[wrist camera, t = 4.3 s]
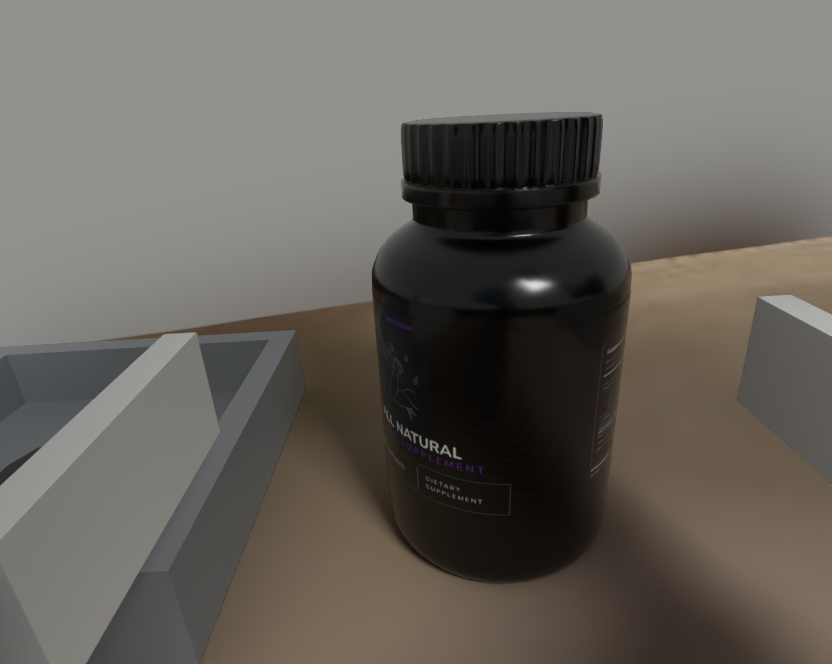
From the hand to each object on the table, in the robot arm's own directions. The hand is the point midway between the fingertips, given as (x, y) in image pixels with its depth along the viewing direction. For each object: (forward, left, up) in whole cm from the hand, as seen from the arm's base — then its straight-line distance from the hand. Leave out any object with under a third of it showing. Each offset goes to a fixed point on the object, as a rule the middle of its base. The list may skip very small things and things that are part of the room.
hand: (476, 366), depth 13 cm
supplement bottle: (-1, -3, -7) cm, 7 cm away
